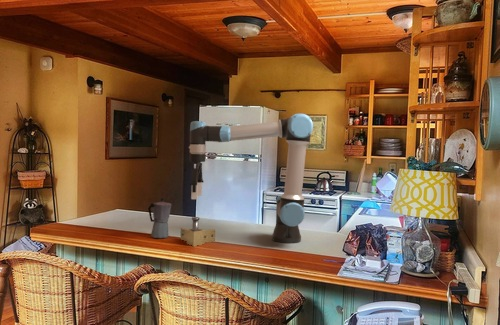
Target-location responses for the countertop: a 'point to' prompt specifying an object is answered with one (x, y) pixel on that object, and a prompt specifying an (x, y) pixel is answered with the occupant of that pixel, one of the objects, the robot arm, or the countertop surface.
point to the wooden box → (197, 236)
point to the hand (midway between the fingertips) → (196, 197)
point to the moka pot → (160, 218)
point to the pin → (195, 223)
